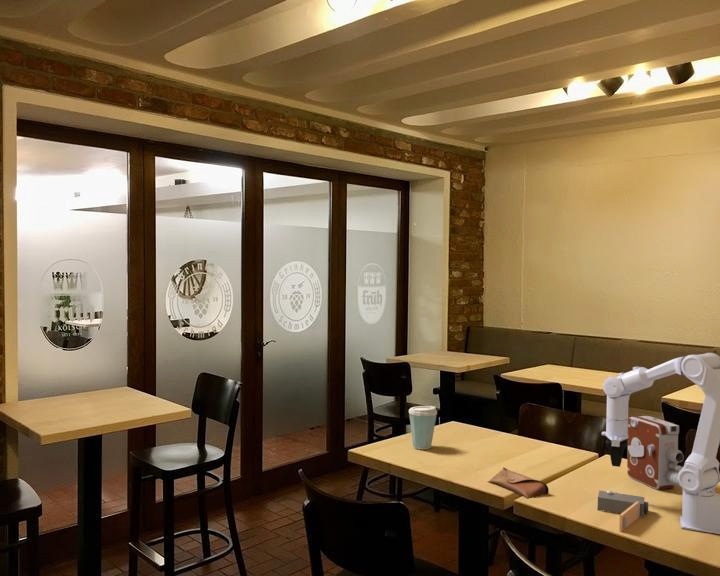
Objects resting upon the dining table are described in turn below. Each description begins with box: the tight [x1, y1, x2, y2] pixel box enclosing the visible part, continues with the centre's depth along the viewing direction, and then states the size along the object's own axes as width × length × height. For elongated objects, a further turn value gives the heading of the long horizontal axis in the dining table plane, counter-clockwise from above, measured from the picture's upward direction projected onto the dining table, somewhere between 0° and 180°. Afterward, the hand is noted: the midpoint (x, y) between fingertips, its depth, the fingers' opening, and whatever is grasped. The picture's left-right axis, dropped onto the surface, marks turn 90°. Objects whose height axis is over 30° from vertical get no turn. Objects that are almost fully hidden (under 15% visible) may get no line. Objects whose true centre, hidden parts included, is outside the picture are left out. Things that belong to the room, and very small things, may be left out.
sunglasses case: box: [486, 467, 550, 499], centre depth 186 cm, size 18×7×7 cm
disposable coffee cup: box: [408, 405, 438, 450], centre depth 229 cm, size 11×11×15 cm
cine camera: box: [626, 415, 685, 490], centre depth 189 cm, size 9×19×20 cm, turn 15°
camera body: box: [597, 490, 649, 518], centre depth 169 cm, size 12×6×4 cm, turn 65°
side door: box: [619, 501, 641, 532], centre depth 159 cm, size 13×1×4 cm, turn 138°
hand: (616, 465), depth 178 cm, fingers closed
